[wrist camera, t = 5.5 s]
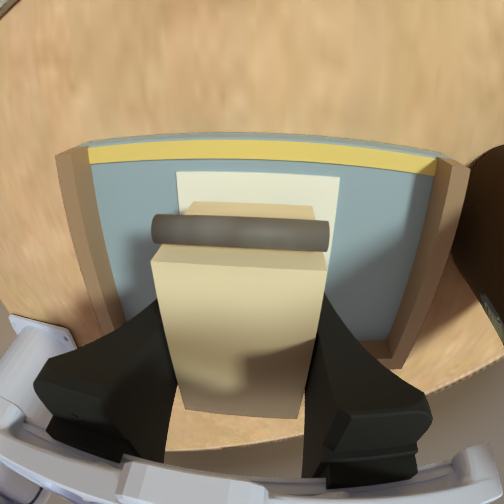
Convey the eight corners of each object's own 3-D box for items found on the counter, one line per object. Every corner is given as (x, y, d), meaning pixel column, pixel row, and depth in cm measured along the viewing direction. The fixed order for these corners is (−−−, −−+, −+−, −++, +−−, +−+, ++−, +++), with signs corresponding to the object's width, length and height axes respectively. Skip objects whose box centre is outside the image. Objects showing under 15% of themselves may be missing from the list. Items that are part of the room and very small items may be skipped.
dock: (391, 334, 19) (401, 368, 16) (125, 318, 20) (109, 348, 17) (440, 152, 13) (470, 169, 10) (88, 141, 14) (54, 155, 11)
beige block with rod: (295, 325, 16) (297, 418, 11) (210, 319, 16) (185, 409, 11) (311, 172, 12) (332, 234, 7) (199, 168, 12) (144, 226, 7)
